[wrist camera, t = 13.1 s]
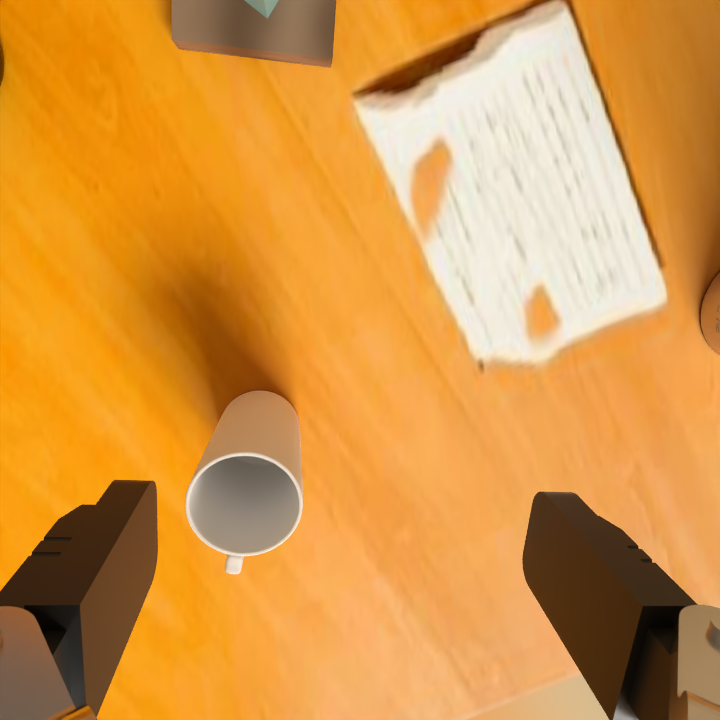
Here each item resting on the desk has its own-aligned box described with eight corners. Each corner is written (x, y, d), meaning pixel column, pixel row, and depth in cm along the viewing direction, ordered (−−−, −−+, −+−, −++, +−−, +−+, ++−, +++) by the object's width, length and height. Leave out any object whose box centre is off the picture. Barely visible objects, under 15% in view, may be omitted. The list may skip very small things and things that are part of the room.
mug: (225, 378, 41) (194, 443, 29) (310, 394, 42) (313, 462, 30) (204, 493, 43) (169, 595, 32) (286, 505, 44) (280, 608, 33)
